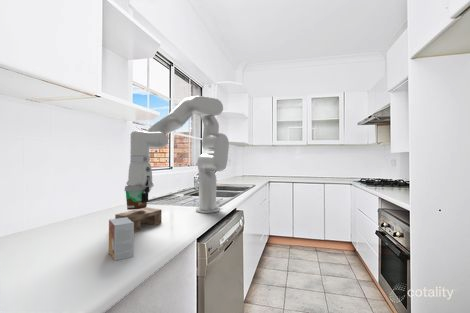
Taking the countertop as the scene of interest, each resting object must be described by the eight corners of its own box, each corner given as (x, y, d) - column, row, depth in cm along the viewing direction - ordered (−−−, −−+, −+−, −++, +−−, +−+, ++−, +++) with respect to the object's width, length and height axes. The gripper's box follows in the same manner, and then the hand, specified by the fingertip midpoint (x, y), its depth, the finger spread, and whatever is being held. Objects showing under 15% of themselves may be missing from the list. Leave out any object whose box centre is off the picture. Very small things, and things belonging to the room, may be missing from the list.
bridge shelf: (145, 219, 115) (145, 207, 115) (161, 222, 111) (161, 209, 111) (115, 229, 101) (115, 214, 101) (132, 232, 97) (132, 217, 97)
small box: (108, 252, 78) (108, 219, 77) (127, 248, 81) (127, 216, 81) (113, 261, 71) (113, 225, 71) (133, 256, 75) (134, 222, 74)
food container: (137, 211, 99) (137, 186, 99) (124, 210, 100) (124, 186, 100) (155, 205, 111) (154, 182, 111) (143, 204, 112) (143, 182, 112)
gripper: (161, 160, 105) (160, 202, 105) (133, 159, 113) (132, 198, 113) (147, 160, 99) (147, 205, 99) (118, 159, 106) (118, 201, 107)
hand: (139, 201), depth 106 cm, fingers closed on food container, 5 cm apart
